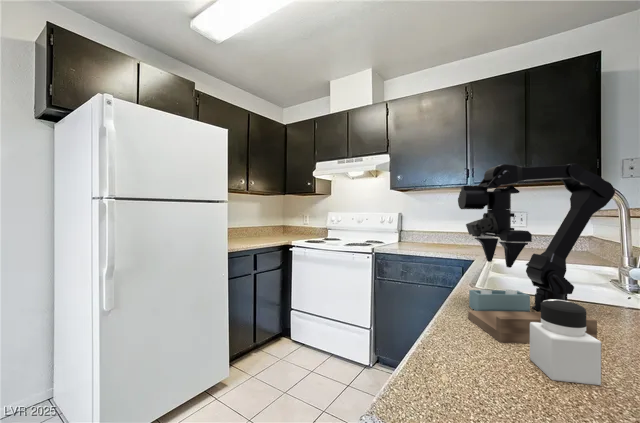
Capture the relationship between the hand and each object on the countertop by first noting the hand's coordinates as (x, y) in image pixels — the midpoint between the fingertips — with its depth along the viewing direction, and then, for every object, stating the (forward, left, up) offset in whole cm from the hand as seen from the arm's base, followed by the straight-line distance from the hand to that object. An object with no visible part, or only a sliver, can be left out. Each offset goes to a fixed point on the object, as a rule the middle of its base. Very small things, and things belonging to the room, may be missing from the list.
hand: (498, 264), depth 82 cm
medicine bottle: (+8, +32, -13) cm, 36 cm away
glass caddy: (0, 0, -13) cm, 13 cm away
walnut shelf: (+2, +14, -13) cm, 19 cm away
